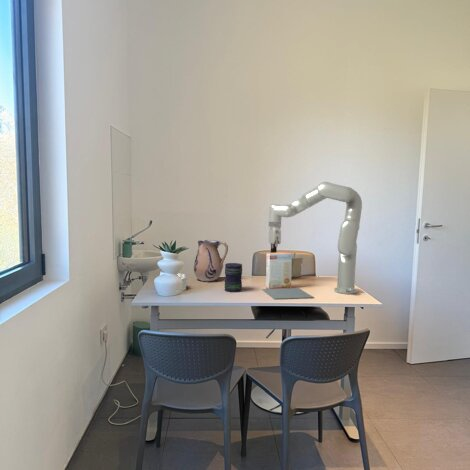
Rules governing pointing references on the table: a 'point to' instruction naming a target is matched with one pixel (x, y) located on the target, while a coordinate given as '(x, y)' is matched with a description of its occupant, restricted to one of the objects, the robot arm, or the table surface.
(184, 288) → the white gift box
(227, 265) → the storage jar
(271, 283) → the cracker box
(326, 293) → the table surface
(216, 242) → the ceramic pitcher
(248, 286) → the table surface
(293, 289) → the mat
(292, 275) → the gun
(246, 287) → the table surface
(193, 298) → the table surface
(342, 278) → the robot arm
